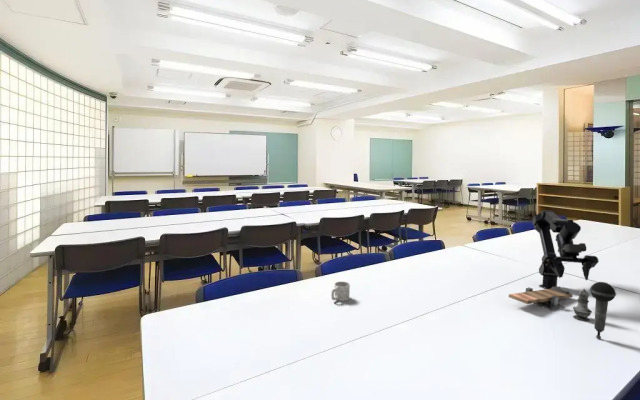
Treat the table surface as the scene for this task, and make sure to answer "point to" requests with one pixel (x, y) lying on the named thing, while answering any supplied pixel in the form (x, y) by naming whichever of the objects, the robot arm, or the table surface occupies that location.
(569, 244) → the robot arm
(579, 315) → the grey rounded piece
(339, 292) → the mug
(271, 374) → the table surface
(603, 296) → the microphone
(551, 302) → the beam stand
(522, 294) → the beam
